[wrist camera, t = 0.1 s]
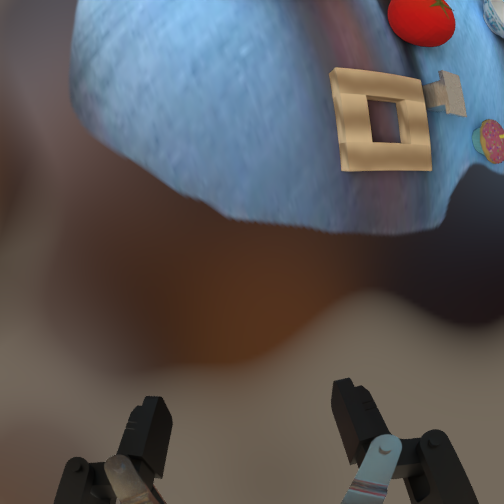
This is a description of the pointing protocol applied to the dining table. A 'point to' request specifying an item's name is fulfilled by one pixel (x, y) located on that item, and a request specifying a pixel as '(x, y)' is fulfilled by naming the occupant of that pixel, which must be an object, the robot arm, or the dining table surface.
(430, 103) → the grey stepped wood block
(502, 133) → the cupcake
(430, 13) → the tomato
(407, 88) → the well block
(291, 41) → the dining table surface
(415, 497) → the robot arm
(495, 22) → the chinaware
